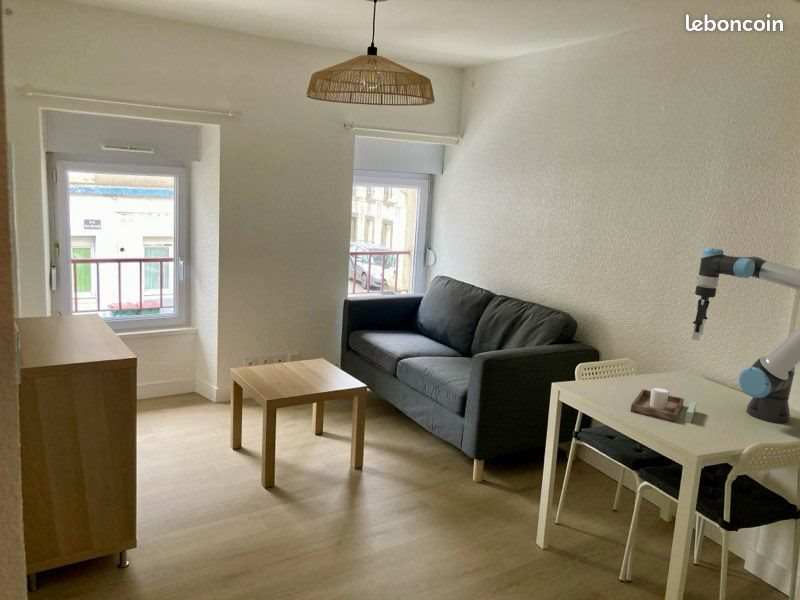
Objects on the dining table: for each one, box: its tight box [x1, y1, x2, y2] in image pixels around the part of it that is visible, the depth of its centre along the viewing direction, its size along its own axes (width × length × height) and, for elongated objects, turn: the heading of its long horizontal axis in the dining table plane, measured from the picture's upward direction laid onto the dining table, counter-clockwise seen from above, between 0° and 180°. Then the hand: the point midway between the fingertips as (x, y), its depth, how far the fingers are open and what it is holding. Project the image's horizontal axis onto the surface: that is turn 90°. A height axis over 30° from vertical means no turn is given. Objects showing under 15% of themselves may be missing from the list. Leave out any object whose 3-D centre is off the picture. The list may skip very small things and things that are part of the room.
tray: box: [630, 388, 685, 423], centre depth 253 cm, size 16×24×3 cm, turn 150°
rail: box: [684, 400, 698, 424], centre depth 247 cm, size 2×16×4 cm, turn 150°
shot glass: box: [650, 386, 670, 409], centre depth 252 cm, size 7×7×7 cm
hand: (697, 337), depth 264 cm, fingers open, 13 cm apart
